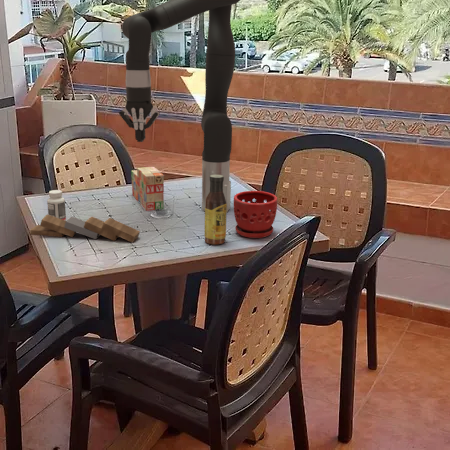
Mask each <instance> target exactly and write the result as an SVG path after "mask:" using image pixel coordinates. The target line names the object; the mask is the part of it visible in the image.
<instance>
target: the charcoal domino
mask: <svg viewBox="0 0 450 450" xmlns="http://www.w3.org/2000/svg"><path fill="white" fill-rule="evenodd" d="M85 221H86V220H82V219H79V218H77V217H75V216H70V217H69V218H68V219H66V223H65V226H64V228H67V229H69V230H72V231H75V232H76V234H80V235H83V236H86V237H89V238H91V239H94V240H97V239H98V238H99V237H100V236H101V235H100V234H98V233H95V232H93V231H91V230H89V229H86V228H84V225H85Z"/></svg>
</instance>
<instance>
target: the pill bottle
mask: <svg viewBox="0 0 450 450" xmlns="http://www.w3.org/2000/svg"><path fill="white" fill-rule="evenodd" d="M46 202H47V203H46V204H47V214H48V215H51V216H53V217H56V218H59V219H62V220H65V221H67V214H66V213H67V212H66V211H67V210H66V200H65V198H64V197H63V191H62V190H60V189H53V190H49V192H48V198H47V201H46Z"/></svg>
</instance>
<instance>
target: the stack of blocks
mask: <svg viewBox="0 0 450 450" xmlns="http://www.w3.org/2000/svg"><path fill="white" fill-rule="evenodd" d="M130 175H131V189H132V190H131V191H132V196H133V197H134V198H135V199H136V201H137V202H138V203H139V204H140V205H141V206H142V207H143V208H144V210H145V211H146V212H149V211H150V212H151V211H157V210H156V209H160V210H164V208H165V204H164V203H165V201H164V200H165V199H164V198H165V197H164V192H165V188H164V187H165V186H164V183H165V181H164V180H165V178H164V177H165V175H164V174H163V173H162V172H161V171H160V170H158V168H156V167H155V166H148V167H147V166H145V167H137V168H136V170H135V169H133V170H131V171H130Z"/></svg>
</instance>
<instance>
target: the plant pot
mask: <svg viewBox="0 0 450 450" xmlns="http://www.w3.org/2000/svg"><path fill="white" fill-rule="evenodd" d="M253 200H255V201H253ZM265 201H266V202H265ZM277 209H278V197H277V196H276V195H275V194H274V193H271V192H267V191H263V190H245V191H240V192H238V193H236V194H234V196H233V213H234V219H235V222H236V225H235V228H234V229H235V231H236V233H237V234H238V235H240V236H242V237H246V238H250V239H262V238H265V237H269V236H270V235H272V234H273V232H274V226H273V224H274V221H275V220H276V219H275V218H276V216H277Z"/></svg>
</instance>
